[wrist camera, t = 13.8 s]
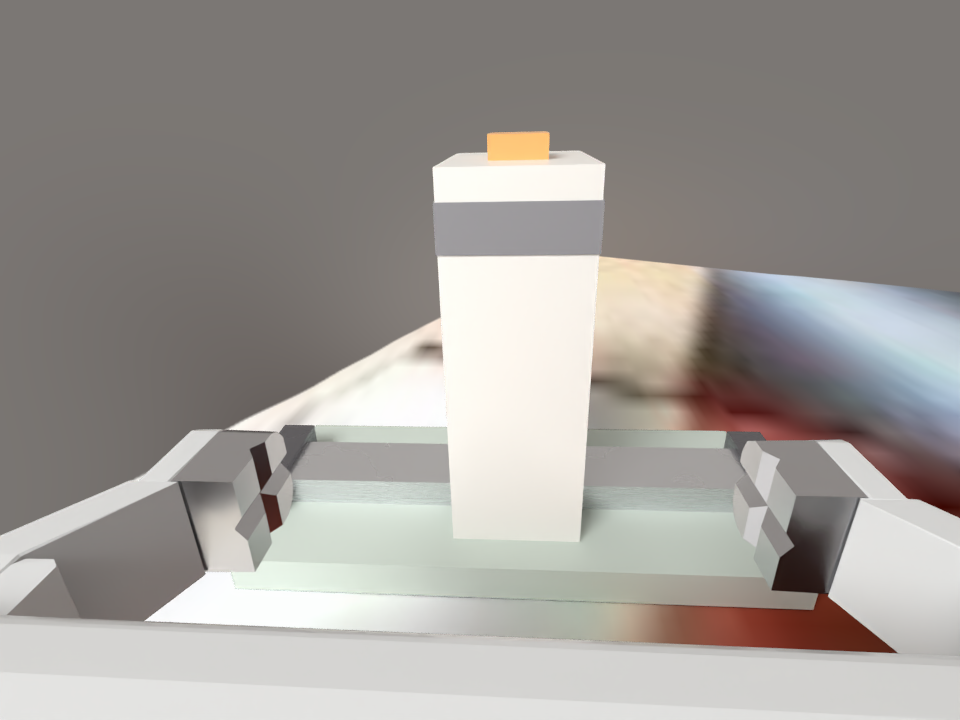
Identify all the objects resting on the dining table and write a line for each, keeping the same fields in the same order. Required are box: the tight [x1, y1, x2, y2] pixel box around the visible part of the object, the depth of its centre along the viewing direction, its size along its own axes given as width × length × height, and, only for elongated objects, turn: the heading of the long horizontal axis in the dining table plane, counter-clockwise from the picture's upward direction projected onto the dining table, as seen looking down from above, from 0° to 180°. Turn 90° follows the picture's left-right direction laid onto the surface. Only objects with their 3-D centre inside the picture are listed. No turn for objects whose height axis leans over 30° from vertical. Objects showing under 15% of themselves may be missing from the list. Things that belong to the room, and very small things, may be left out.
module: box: [433, 131, 605, 542], centre depth 22 cm, size 7×5×15 cm
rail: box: [279, 425, 766, 513], centre depth 24 cm, size 23×5×2 cm, turn 86°
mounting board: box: [231, 425, 818, 610], centre depth 25 cm, size 22×10×2 cm, turn 86°
